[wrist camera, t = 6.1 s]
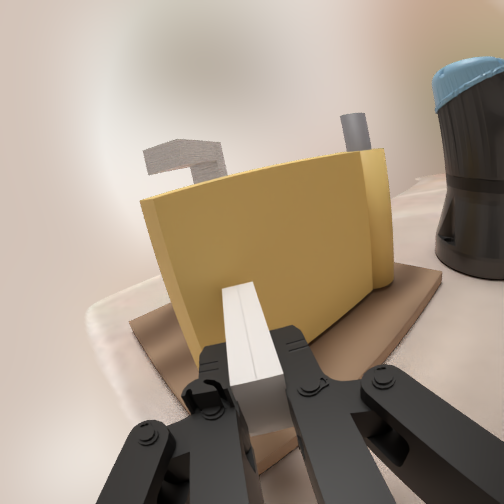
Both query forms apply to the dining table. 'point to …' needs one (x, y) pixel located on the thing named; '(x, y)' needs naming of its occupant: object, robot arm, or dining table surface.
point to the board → (323, 346)
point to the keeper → (187, 159)
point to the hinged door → (278, 239)
